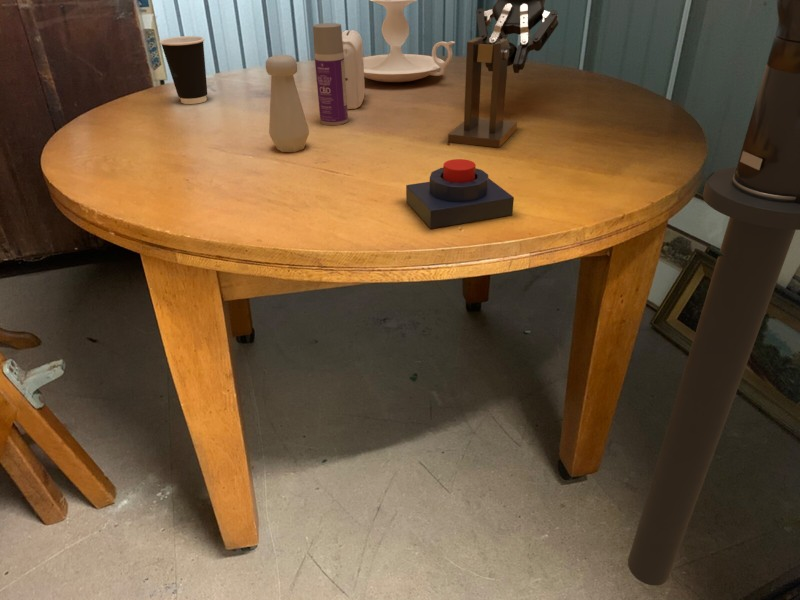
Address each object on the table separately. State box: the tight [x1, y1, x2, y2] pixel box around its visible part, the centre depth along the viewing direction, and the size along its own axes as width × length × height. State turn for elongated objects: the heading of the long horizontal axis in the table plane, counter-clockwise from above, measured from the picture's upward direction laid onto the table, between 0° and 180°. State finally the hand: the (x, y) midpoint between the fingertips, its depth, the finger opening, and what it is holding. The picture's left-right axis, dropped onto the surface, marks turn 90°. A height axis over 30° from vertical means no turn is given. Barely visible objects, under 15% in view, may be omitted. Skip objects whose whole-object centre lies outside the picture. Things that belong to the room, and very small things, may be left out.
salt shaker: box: [265, 54, 310, 153], centre depth 87 cm, size 6×6×13 cm
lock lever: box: [477, 41, 518, 67], centre depth 92 cm, size 14×4×4 cm, turn 156°
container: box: [312, 22, 349, 126], centre depth 98 cm, size 5×5×15 cm
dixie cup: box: [158, 35, 208, 105], centre depth 113 cm, size 8×8×11 cm
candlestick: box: [363, 0, 456, 83], centre depth 120 cm, size 21×25×28 cm
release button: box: [442, 158, 477, 183], centre depth 68 cm, size 4×4×2 cm
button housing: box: [405, 167, 515, 230], centre depth 69 cm, size 10×8×4 cm
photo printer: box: [342, 29, 366, 110], centre depth 109 cm, size 10×4×12 cm, turn 177°
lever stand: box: [447, 36, 518, 149], centre depth 90 cm, size 10×8×14 cm
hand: (502, 68), depth 96 cm, fingers closed on lock lever, 3 cm apart
